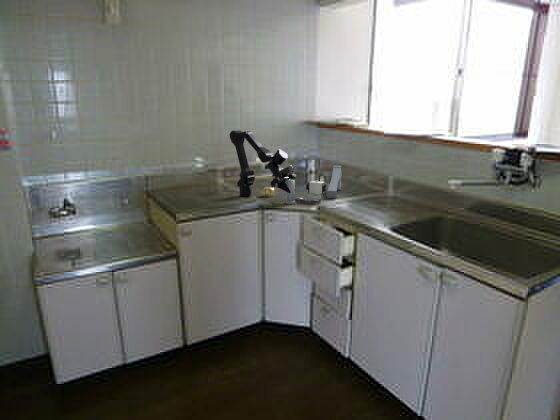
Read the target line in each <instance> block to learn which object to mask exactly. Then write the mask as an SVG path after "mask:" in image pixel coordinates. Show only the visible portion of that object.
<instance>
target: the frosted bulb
mask: <svg viewBox="0 0 560 420" xmlns="http://www.w3.org/2000/svg"><path fill="white" fill-rule="evenodd" d="M286 185H287V186H288V188H289V190H290V191H291V193H288V192H286V191H285V195H286V198H285V199H286V200H285V204H286V205H296V201H295V195H296V194H295V193H296V191H295V190H296V187H295V186H296V180H295V179H294V180H286Z"/></svg>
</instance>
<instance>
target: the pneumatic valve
mask: <svg viewBox="0 0 560 420" xmlns="http://www.w3.org/2000/svg"><path fill="white" fill-rule="evenodd" d="M305 186H306V187H305V189H306V190H307V192H308V194H313V195H312V196H311V199H312V202H321V201H322V199H323V196H322V195H324V194H326V192H327V191H328V187H329V185H328V184H327V182H326V181H319V180H318V179H316V180H311V181H308V182H307V183H306V185H305Z"/></svg>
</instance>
